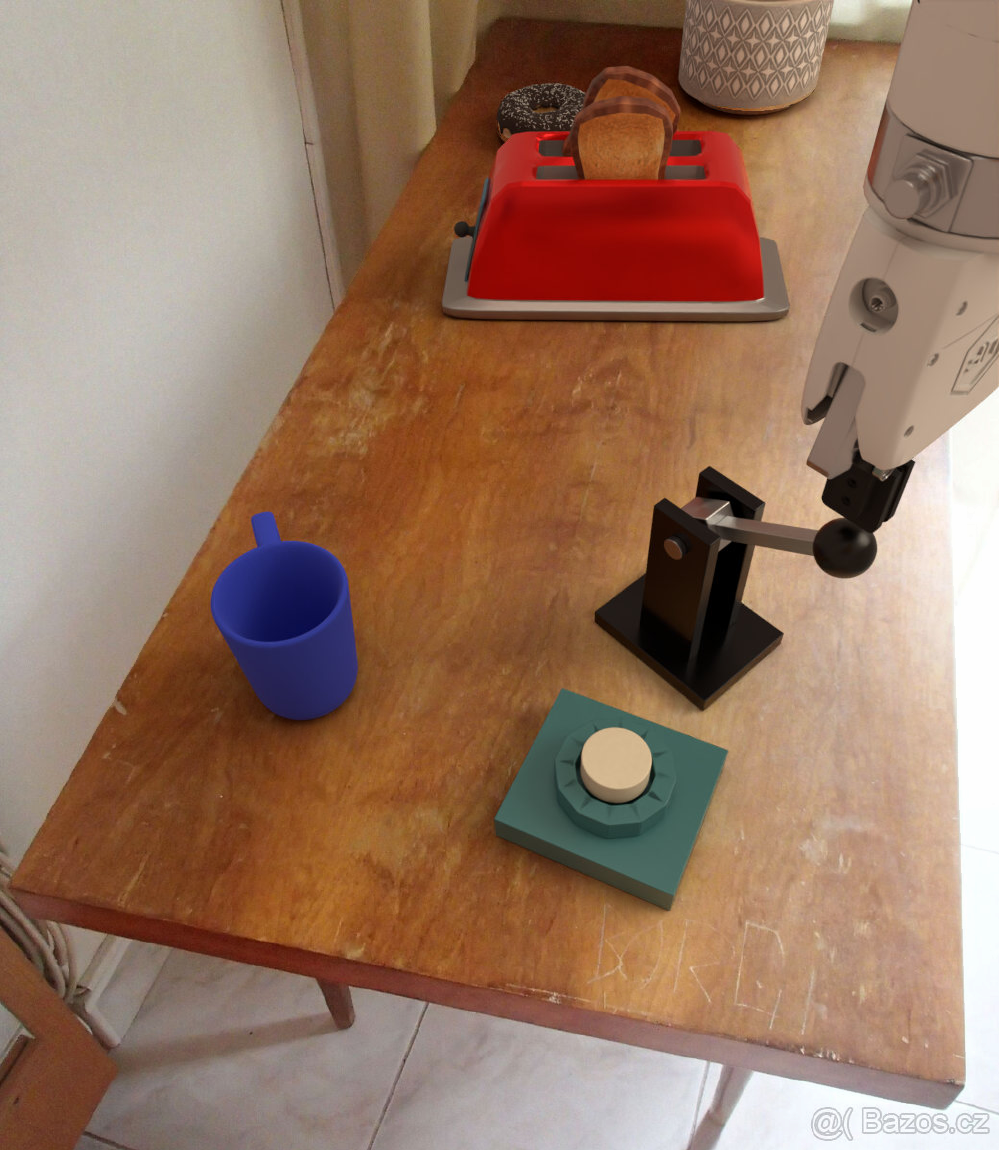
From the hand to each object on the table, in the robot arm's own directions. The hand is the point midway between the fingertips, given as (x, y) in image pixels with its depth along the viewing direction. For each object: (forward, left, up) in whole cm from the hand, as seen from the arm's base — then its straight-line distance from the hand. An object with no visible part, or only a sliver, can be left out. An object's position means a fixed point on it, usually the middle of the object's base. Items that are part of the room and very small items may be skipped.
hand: (855, 510), depth 50 cm
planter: (+28, -84, -19) cm, 91 cm away
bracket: (+8, -3, -19) cm, 21 cm away
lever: (+3, -1, -7) cm, 7 cm away
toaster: (+28, -40, -19) cm, 53 cm away
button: (+8, +11, -15) cm, 20 cm away
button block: (+8, +11, -19) cm, 23 cm away
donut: (+46, -65, -19) cm, 82 cm away
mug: (+31, +10, -19) cm, 37 cm away
